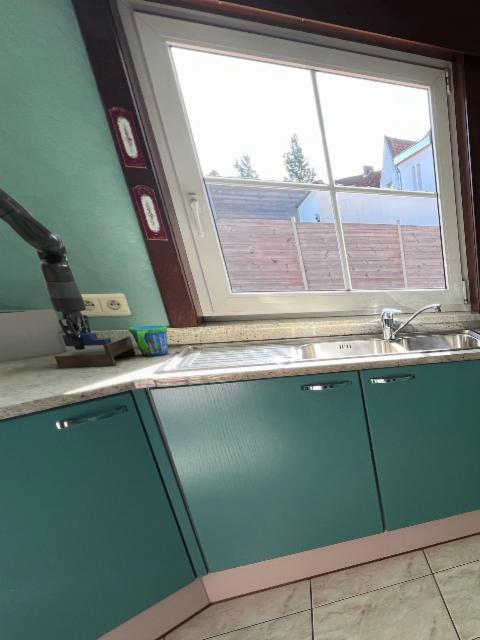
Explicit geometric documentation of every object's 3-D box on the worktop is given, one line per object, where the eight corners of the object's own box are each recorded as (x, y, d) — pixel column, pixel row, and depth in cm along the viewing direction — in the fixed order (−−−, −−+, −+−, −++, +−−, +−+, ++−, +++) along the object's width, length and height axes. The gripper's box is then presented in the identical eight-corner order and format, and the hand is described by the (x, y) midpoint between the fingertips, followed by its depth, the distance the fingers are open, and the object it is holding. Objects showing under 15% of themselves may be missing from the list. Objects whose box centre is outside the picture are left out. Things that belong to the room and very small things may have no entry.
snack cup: (161, 358, 179) (152, 329, 175) (126, 358, 176) (117, 330, 173) (182, 350, 193) (175, 324, 189) (151, 351, 190) (142, 324, 187)
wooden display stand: (58, 368, 160) (50, 346, 157) (86, 357, 177) (79, 337, 174) (114, 365, 166) (107, 345, 163) (136, 355, 182) (130, 336, 180)
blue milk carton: (66, 350, 163) (60, 335, 161) (72, 347, 167) (67, 333, 165) (109, 348, 167) (104, 334, 165) (115, 346, 171) (110, 332, 169)
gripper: (60, 294, 164) (79, 345, 171) (38, 297, 152) (58, 352, 159) (90, 294, 167) (107, 344, 174) (70, 297, 155) (89, 351, 162)
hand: (83, 348), depth 166 cm, fingers closed on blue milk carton, 4 cm apart
